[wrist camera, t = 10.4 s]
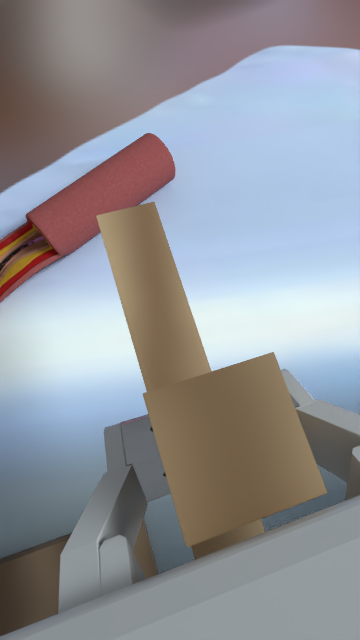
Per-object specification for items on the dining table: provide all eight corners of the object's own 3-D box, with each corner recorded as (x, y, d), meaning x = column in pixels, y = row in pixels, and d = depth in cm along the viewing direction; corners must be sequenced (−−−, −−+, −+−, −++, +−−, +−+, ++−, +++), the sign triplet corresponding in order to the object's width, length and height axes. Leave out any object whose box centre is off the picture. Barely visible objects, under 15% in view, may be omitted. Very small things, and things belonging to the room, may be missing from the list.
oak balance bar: (154, 222, 19) (151, 35, 10) (304, 673, 14) (602, 1204, 5) (102, 235, 19) (45, 53, 9) (237, 704, 14) (416, 1353, 4)
